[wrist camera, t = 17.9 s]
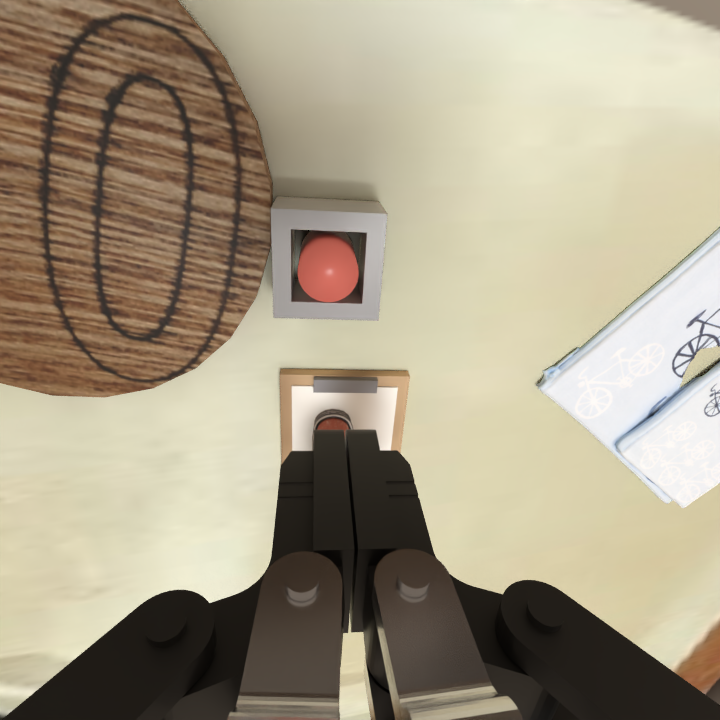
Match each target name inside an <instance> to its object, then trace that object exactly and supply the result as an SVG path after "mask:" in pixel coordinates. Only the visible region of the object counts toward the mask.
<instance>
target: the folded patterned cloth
mask: <svg viewBox="0 0 720 720" xmlns="http://www.w3.org/2000/svg"><path fill="white" fill-rule="evenodd" d="M717 345H718V347H719V346H720V228H718V229H717V230H716V231H715V232H714V233H713V234H712V235H711V236H710V237H709V238H708V239H707V240H706V241H704V242H703V243H702V244H701V245H700V246H699V247H698V248H697V249H695V250H694V251H693V252H692V253H691V254H690V255H689V256H687V257H686V258H685V259H684V260H683V261H681V262H680V263H679V264H678V265H677V266H676V267H675V268H673V269H672V270H671V271H670V272H669V273H668V274H666V275H665V276H664V277H663V278H662V279H661V280H660V281H658V282H657V283H656V284H655V285H654V286H652V287H651V288H650V289H649V290H648V291H646V292H645V293H644V294H643V295H642V296H640V297H639V298H638V299H637V300H635V301H634V302H633V303H632V304H631V305H630V306H628V307H627V308H626V309H625V310H624V311H623V312H622V313H621V314H619V315H618V316H617V317H616V318H615V319H614V320H612V321H611V322H610V323H609V324H608V325H607V326H605V327H604V328H603V329H602V330H601V331H600V332H598V333H597V334H596V335H595V336H594V337H593V338H591V339H590V340H589V341H588V342H587V343H586V344H585V345H583V346H582V347H581V348H578V347H577V349H576V350H575V351H574V352H573V353H570V354H568V355H567V356H566V357H565V358H563V359H562V360H561V361H560V362H559V363H557V365H556V366H552V367H550V368H548V369H547V370H543V374H544V375H543V378H542V380H541V382H540V383H537V384H536V386H538V389H540V390H541V392H542V393H544V394H545V395H547V396H548V397H549V398H551V399H552V400H553V401H554V402H555V403H557V404H558V405H559V406H560V407H561V408H563V409H564V410H565V411H566V412H567V413H569V414H570V415H571V416H572V417H573V418H574V419H576V420H577V421H578V422H579V423H580V424H582V425H583V426H584V427H585V428H586V429H587V430H588V431H589V432H590V433H592V434H593V435H594V436H595V437H596V438H597V439H598V440H599V441H600V442H601V443H602V444H603V445H604V446H606V447H607V448H608V449H609V450H610V451H611V452H612V453H613V454H614V455H615V456H616V457H617V458H618V459H619V460H620V461H621V462H622V463H623V464H624V465H625V466H626V467H628V468H629V469H630V470H631V471H632V472H633V473H634V474H635V475H636V476H637V477H638V478H639V479H640V480H641V481H643V483H644V484H645V485H646V486H647V487H648V488H649V489H650V490H651V491H652V492H653V493H654V494H655V495H656V496H657V497H658V498H660V499H661V500H662V501H663V502H665V503H667V504H668V503H670V502H671V501H672V500H673V501H675V502H676V503H677V504H678V505H680V506H681V507H682V508H685V507H686V506H688V505H689V504H690V503H692V502H693V501H694V500H696V499H697V498H699V497H700V496H702V495H703V494H705V493H706V492H708V491H709V490H711V489H712V488H713V487H715V486H716V485H718V484H719V483H720V361H719V362H718V363H717V364H716V365H715V366H714V367H713V368H712V369H711V370H709V371H708V372H707V373H706V374H704V375H703V376H701V377H696V378H694V379H692V380H691V381H690V382H689V383H687V384H686V385H684V386H683V387H681V388H679V387H680V384H681V382H682V379H683V378H682V377H683V375H684V374H685V371H686V369H687V367H688V365H689V363H690V362H691V361H692V360H693V359H694V356H695V355H696V352H698V351H699V350H700V349H704V348H709V347H710V348H712V347H716V346H717Z"/></svg>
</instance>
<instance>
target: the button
mask: <svg viewBox="0 0 720 720" xmlns="http://www.w3.org/2000/svg"><path fill="white" fill-rule="evenodd" d="M358 276H359V270H358V265H357V261H356V256H355V252H354V248H353V244H352V242H351V240H350V238H349V237H348V235H347V234H346V233H345V232H342V231H320V230H312V231H311V232H309V233H308V234H307V235H306V237H305V238H304V240H303V242H302V246H301V251H300V258H299V264H298V279H299V283H300V285H301V287H302V288H303V290H304V291H305V292H306V293H307V294H308V295H309V296H310V297H312V298H314V299H316V300H318V301H322V302H335V301H339V300H341V299H343V298H345V297H346V296H348V295H349V294H350V293H351V292H352V291H353V289H354V288H355V286H356V284H357V281H358Z"/></svg>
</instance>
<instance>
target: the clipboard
mask: <svg viewBox="0 0 720 720" xmlns="http://www.w3.org/2000/svg"><path fill="white" fill-rule="evenodd" d="M409 379H410V376H409V373H408V371H376V370H318V369H281V371H280V402H281V448H282V463H283V462H284V460H285V459H286V458H287V456H288V455H289V453H290V452H291V451H312V435H313V428H314V421H315V418H316V416H317V415H318V414H319V413H320V412H322V411H324V410H327V409H340V410H343V411H345V412H346V413H347V414H348V415H349V416H350V418H351V422H352V426H353V429H373V430H376V432H377V437H378V442H379V447H380V450H398V452H399V453H400V451H401V443H402V435H403V427H404V419H405V411H406V403H407V395H408V387H409Z"/></svg>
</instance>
